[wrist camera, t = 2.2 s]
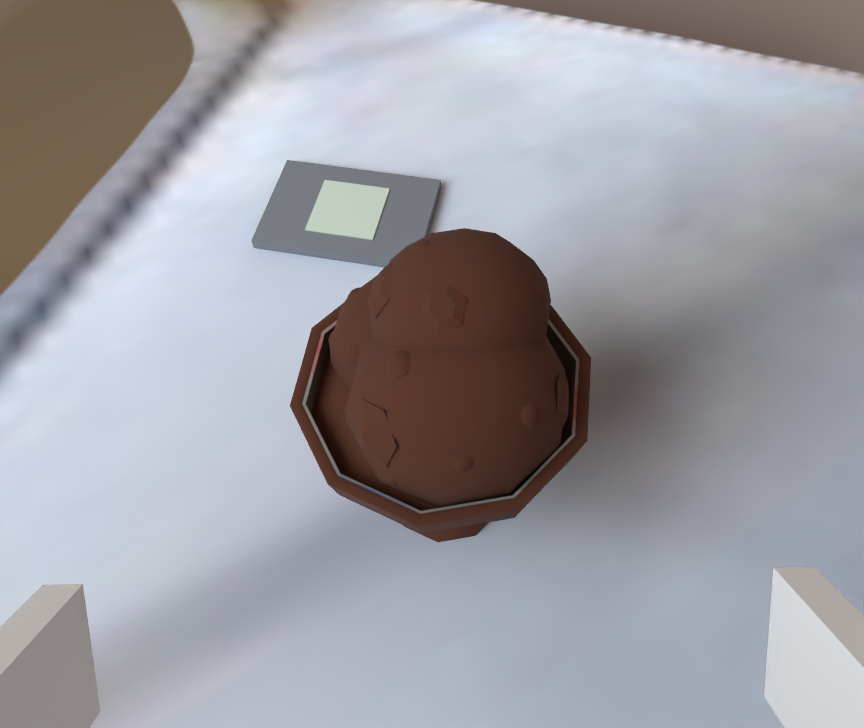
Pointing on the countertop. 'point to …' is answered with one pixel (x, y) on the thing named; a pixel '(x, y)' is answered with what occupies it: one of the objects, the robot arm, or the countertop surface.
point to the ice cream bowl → (445, 387)
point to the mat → (346, 213)
